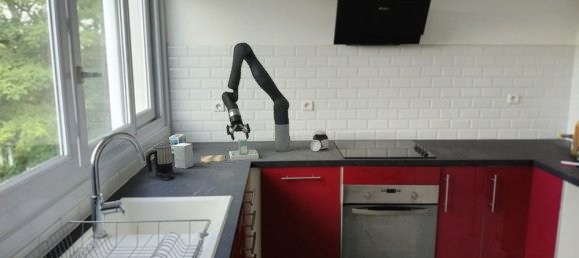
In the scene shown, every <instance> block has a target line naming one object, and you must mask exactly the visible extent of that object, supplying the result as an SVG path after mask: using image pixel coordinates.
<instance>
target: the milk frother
mask: <svg viewBox="0 0 579 258" xmlns="http://www.w3.org/2000/svg"><path fill="white" fill-rule="evenodd" d="M171 147H172V145H170V144H158V145H154V146H153V148H154V149H152V150H151V149H150V150H148V151H147V152H146V153H145V158H144V159H145V164H146V172H148V173H152V172H153V167H152V166H153V165H152V156H153V159H154V160H153V161H154V172H155V174H154V175H156V176H160V177H163V176H164V177H165V178H168V179H171V178H174V177H175V175H174V168H173V155H172V149H171Z"/></svg>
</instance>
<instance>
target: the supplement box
mask: <svg viewBox="0 0 579 258" xmlns="http://www.w3.org/2000/svg"><path fill="white" fill-rule="evenodd" d="M194 164H195V163H194V151H193V143H188V142H186V143H180V144H177V145H174V166H175V167H176V168H177V169H184V170H185V169H188V168H190V167H193V166H194Z"/></svg>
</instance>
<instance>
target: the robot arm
mask: <svg viewBox="0 0 579 258" xmlns="http://www.w3.org/2000/svg"><path fill="white" fill-rule="evenodd" d="M244 61H245V62H246V65H248V67H249V69H250V73H251V75H252V77H253V80H254V81H255V82H256V84H257V85H258V87H259V88H260V89H262V90H263V91H264V93H266V94H267V95H268V96H269V98H270V99H271V102H273V120H274V143H275V144H274V148H275V149H274V150H275V152H279V153H284V152H285V153H286V152H290V151H291V135H290V118H289V117H290V116H289V108H290V102H289V100H288V99H287V98H286V97H285V95H284V94H283V93H282V92H281V91H280V89H279V88H278V86H277V85H276V83H275V81H274V80H273V78H272V77H271V75H270V74H269V72H268V71H267V70H266V68H265V67H264V66H263V64H262V63H261V62H260V60H259V59H258V57H257V56H256V53H255V52H254V50H253V49H252V47H251V46H250V44H248V43H247V42H239V43H236V44H235V45H234V48H233V53H232V64H231V68H230V69H231V70H230V73H229V79H228V81H227V88H228V89H230V90H232V91H224V92H222V94H221V100H222V103H223V104H224V106H225V107H226V110H227V113H228V120H229V122H230V125H229V124H226V128H225V129H226V134H227V136H229V135H230V139H231V140H232V141H235V133H238V132H242V133H243V134H244V135H245V139H247V140H248V139H249V138H250V135H249V134H250V133H251V130H252V129H251V127H250V124H249V123H245V124H244V123H243V118H242V114H241V112H240V108H239V105H238V103H237V102H238V101H239V86H240V82H241V79H242V68H243V67H242V66H243V62H244ZM230 129H231V131H230Z"/></svg>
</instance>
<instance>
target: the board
mask: <svg viewBox="0 0 579 258" xmlns="http://www.w3.org/2000/svg"><path fill="white" fill-rule="evenodd" d="M226 159H227V158H226V157H225V154H218V155H217V154H215V155H203V156H201V155H200V164H201V165H202V164H210V163H215V162H216V163H217V162H218V163H219V162H226V161H227V160H226Z"/></svg>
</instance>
